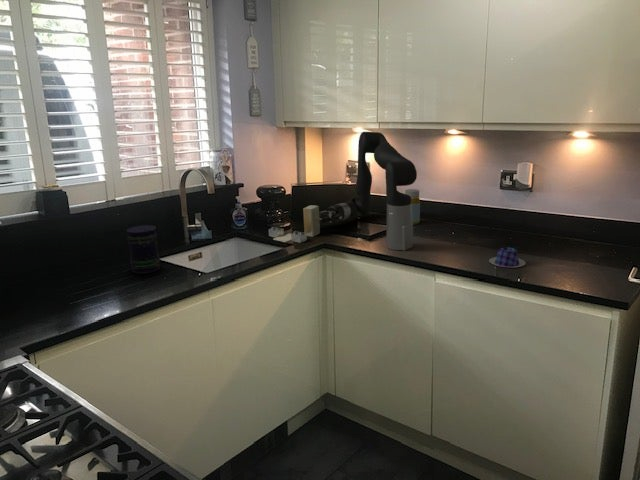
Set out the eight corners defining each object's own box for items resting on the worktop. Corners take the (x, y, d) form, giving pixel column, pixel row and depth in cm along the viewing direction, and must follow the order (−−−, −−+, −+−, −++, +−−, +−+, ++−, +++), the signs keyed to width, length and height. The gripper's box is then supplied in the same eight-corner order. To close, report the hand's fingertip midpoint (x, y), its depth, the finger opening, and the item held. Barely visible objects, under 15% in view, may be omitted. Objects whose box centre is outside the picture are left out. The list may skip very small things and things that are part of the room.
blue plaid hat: (532, 264, 189) (533, 249, 187) (511, 271, 182) (512, 256, 180) (502, 256, 198) (503, 242, 197) (481, 263, 191) (482, 249, 190)
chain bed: (306, 240, 225) (306, 232, 224) (300, 242, 222) (300, 234, 221) (275, 234, 236) (274, 225, 235) (268, 236, 233) (268, 227, 232)
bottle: (402, 224, 245) (403, 191, 240) (405, 221, 251) (405, 188, 247) (418, 225, 243) (419, 192, 238) (420, 221, 249) (421, 189, 245)
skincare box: (311, 232, 237) (310, 204, 234) (320, 233, 235) (319, 205, 231) (303, 236, 232) (302, 207, 228) (312, 237, 229) (311, 208, 226)
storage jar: (126, 269, 196) (121, 229, 192) (152, 262, 203) (147, 223, 199) (140, 275, 189) (134, 233, 185) (165, 268, 196) (161, 228, 192)
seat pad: (301, 236, 231) (301, 235, 230) (285, 242, 223) (285, 241, 223) (289, 234, 235) (289, 233, 235) (273, 239, 228) (273, 238, 227)
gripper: (326, 202, 248) (302, 209, 237) (351, 206, 239) (327, 213, 228) (326, 218, 250) (302, 226, 239) (351, 222, 241) (328, 230, 230)
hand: (315, 219), depth 233 cm, fingers open, 8 cm apart
